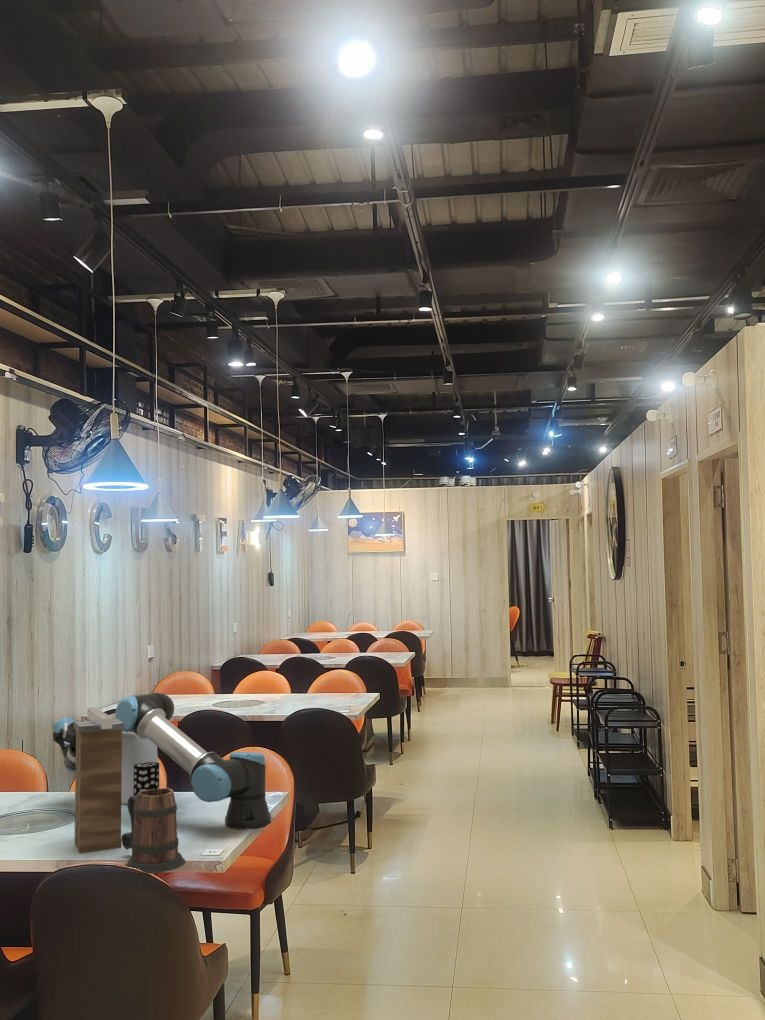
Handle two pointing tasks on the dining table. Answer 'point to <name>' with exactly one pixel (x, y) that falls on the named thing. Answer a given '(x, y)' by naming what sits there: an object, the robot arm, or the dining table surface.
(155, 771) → the white-spotted black cylinder
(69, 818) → the dining table surface
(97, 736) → the column
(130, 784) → the plastic bottle
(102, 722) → the bar
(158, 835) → the tankard
